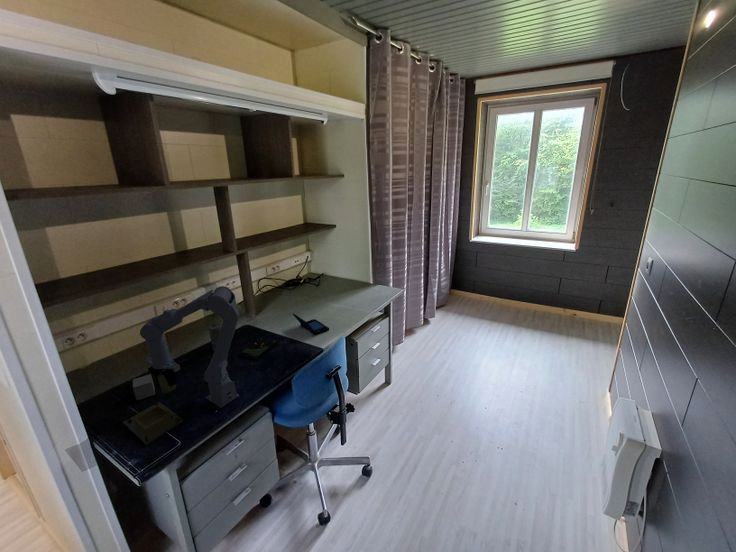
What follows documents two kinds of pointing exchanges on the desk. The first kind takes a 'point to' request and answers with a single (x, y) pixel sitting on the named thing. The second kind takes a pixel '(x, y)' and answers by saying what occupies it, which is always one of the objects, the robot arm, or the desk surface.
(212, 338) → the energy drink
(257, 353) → the disk drive
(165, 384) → the switch lever
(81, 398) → the desk surface
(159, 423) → the mounting bracket
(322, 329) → the black handheld device
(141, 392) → the grey cube
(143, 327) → the robot arm
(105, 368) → the desk surface
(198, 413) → the desk surface
